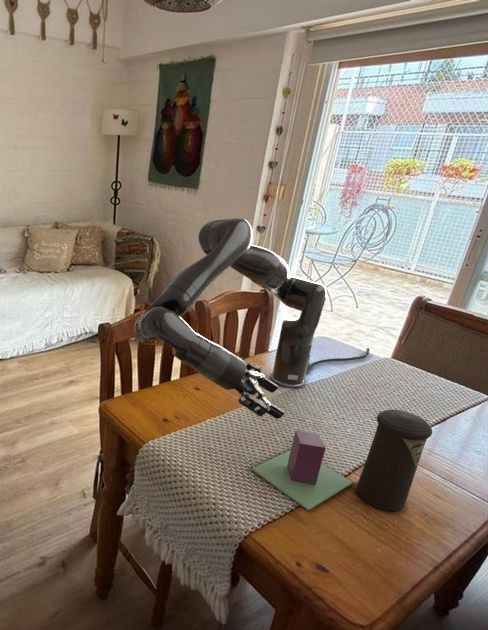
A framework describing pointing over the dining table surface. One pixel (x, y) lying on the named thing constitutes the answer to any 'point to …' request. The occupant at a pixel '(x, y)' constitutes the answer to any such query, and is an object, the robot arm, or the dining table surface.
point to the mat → (298, 491)
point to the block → (306, 457)
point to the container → (393, 459)
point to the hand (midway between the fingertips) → (278, 402)
